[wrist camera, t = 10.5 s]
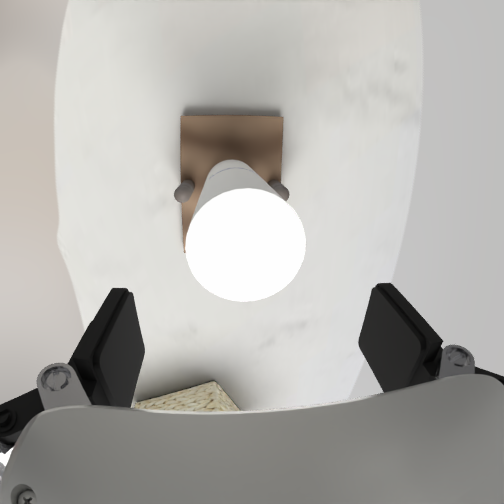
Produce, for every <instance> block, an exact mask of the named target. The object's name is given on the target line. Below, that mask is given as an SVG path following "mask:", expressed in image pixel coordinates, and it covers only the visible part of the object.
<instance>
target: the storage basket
mask: <svg viewBox="0 0 504 504" xmlns="http://www.w3.org/2000/svg"><path fill="white" fill-rule="evenodd" d="M135 404H136V405H135V407H134V408H138V409H152V410H171V411H240V410H239V408H237V406H236V405H235V404H234V403H233V401H232V400H231V399H230V398H229V397H228V395H227V394H226V393H225V392H224V391H223V390H222V388H221V386H220V385H218V384H217V383H216V382H215V381H212V382H208V383H205V384H202V385H199V386H195V387H192V388H189V389H186V390H185V389H184V390H181V391H178V392H174V393H171V394H168V395H163V396H161V397H157V398H152V399H149V400H144V401H141V402H137V403H135Z"/></svg>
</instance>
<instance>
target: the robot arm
mask: <svg viewBox="0 0 504 504" xmlns="http://www.w3.org/2000/svg"><path fill="white" fill-rule="evenodd" d="M442 342H443V340H442V339H441V338H440V337H439V336H438V334H437V333H436V332H435V331H434V330H433V329H432V327H431V326H430V325H429V324H428V323H427V322H426V321H425V319H424V318H423V317H422V316H421V315H420V314H419V313H418V312H417V311H416V309H415V308H414V307H413V306H412V305H411V304H410V303H409V302H408V301H407V300H406V298H405V297H404V296H403V295H402V294H401V293H400V292H399V291H398V290H397V289H396V288H395V287H394V286H393V285H392V284H391V283H379V284H377V285H376V286H375V287H374V288H373V289H372V291H371V296H370V300H369V304H368V307H367V311H366V315H365V319H364V322H363V326H362V330H361V333H360V337H359V342H358V343H359V347H360V349H361V351H362V353H363V355H364V357H365V358H366V360H367V362H368V364H369V366H370V367H371V369H372V371H373V373H374V375H375V377H376V379H377V380H378V382H379V384H380V386H381V388H382V390H383V392H384V393H380V394H376V395H371V396H366V397H361V398H355V399H349V400H343V401H337V402H331V403H324V404H317V405H309V406H300V407H291V408H280V409H267V410H250V411H171V410H152V409H138V408H130V407H131V403H132V399H133V395H134V391H135V387H136V384H137V380H138V376H139V373H140V369H141V365H142V362H143V358H144V354H145V348H144V343H143V339H142V334H141V330H140V326H139V321H138V316H137V311H136V307H135V301H134V296H133V293H132V292H129V291H128V289H127V288H112V289H111V291H110V293H109V294H108V296H107V298H106V299H105V301H104V303H103V304H102V306H101V308H100V309H99V311H98V313H97V314H96V316H95V318H94V320H93V321H91V323H90V324H89V326H88V328H87V329H86V331H85V333H84V335H83V336H82V338H81V340H80V342H79V344H78V346H77V347H76V349H75V351H74V353H73V355H72V357H71V359H70V361H69V362H68V364H65V363H55V364H51V365H49V366H47V367H45V368H44V369H43V370H42V371H41V372H40V374H39V375H38V377H37V387H38V388H36V389H34V390H32V391H30V392H28V393H25V394H23V395H21V396H19V397H17V398H14V399H12V400H10V401H8V402H5V403H3V404H1V405H0V504H504V377H503V376H500V375H498V374H495V373H492V372H489V371H486V370H483V369H480V368H478V367H475V361H474V357H473V356H472V354H471V353H470V352H469V351H468V350H467V349H465V348H464V347H461V346H458V345H449V346H446V347H445V348H444V349H442V347H441V345H442Z"/></svg>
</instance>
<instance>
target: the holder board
mask: <svg viewBox="0 0 504 504" xmlns="http://www.w3.org/2000/svg"><path fill="white" fill-rule="evenodd" d="M282 138H283V117H274V116H251V115H196V116H181V184H180V186H179V187H178V188H177V189H176V190H175V193H174V197H175V199H176V200H177V201H178V202H180V203H182V225H183V244H184V253H186V250H185V245H186V236H187V232H188V229H189V226H190V223H191V220H192V217H193V214H194V211H195V208H196V206H197V203H198V200H199V197H200V195H201V192H202V189H203V187H204V184H205V181H206V179H207V176H208V174H209V172H210V170H211V169H212V168H213V167H214V166H215V165H217V164H218V163H220V162H222V161H225V160H232V159H233V160H239V161H242V162H244V163H245V164H247V165H248V166H249V167H250V168H252V169H253V170H254V171H255V172H256V173H257V174H258V175H259V176H260V177H261V178H262V179H263V180H264V181H265V182H266V183H267V184H268V185H269V186H271V187H272V188H273V189H274V190H275V191H276V192H277V193H278V194H279V195H280V196H281V197H282V198H283V199H284V200H285V201H286V200H287V199H288V198H289V191H288V189H287V188H286V187H284V186H283V185H282V184H281V163H282Z"/></svg>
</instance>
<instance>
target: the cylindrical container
mask: <svg viewBox="0 0 504 504" xmlns="http://www.w3.org/2000/svg"><path fill="white" fill-rule="evenodd" d="M305 249H306V237H305V233H304V228H303V225H302V223H301V220H300V218H299V216H298V215H297V214H296V212H295V211H294V209H293V208H292V207H291V206H290V205H289V204H288V203H287V202H286V201H285V200H284V199H283V198H282V197H281V196H280V195H279V194H278V193H277V192H276V191H275V190H274V189H273V188H272V187H271V186H269V185H268V184H267V183H266V182H265V181H264V180H263V179H262V178H261V177H260V176H259V175H258V174H257V173H256V172H255V171H254V170H253V169H252V168H250V167H249V166H248V165H247V164H245V163H244V162H242V161H239V160H233V159H232V160H225V161H222V162H220V163H218V164H217V165H215V166H214V167H213V168H212V169H211V170H210V172H209V174H208V176H207V179H206V181H205V184H204V187H203V189H202V192H201V195H200V197H199V200H198V203H197V206H196V208H195V211H194V214H193V217H192V220H191V223H190V226H189V229H188V232H187V236H186V245H185V250H186V257H187V262H188V264H189V267H190V269H191V271H192V273H193V275H194V276H195V278H196V279H197V280H198V281H199V283H200V284H201V285H202V286H203V287H205V288H206V289H207V290H209V291H210V292H211V293H213V294H215V295H217V296H219V297H221V298H225V299H228V300H232V301H242V302H246V301H256V300H259V299H263V298H266V297H269V296H271V295H273V294H275V293H277V292H278V291H280V290H281V289H283V288H284V287H285V286H286V285H287V284H288V283H289V282H290V281H291V280H292V279H293V278H294V276H295V275H296V273H297V272H298V270H299V268H300V266H301V264H302V262H303V258H304V254H305Z"/></svg>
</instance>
